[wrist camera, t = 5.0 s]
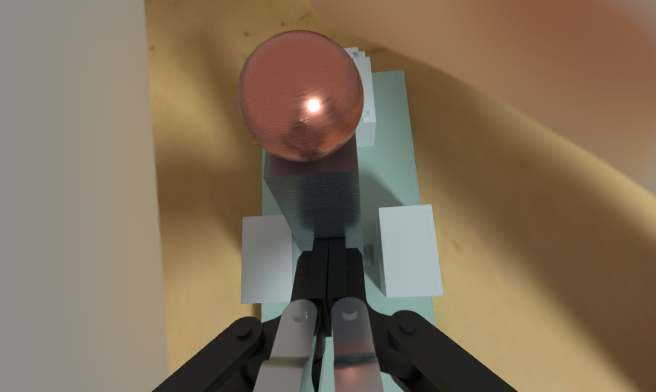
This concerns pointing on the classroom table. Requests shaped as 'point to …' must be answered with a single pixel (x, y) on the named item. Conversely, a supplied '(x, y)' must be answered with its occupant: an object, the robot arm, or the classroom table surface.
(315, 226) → the lever
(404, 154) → the base
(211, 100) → the classroom table surface
